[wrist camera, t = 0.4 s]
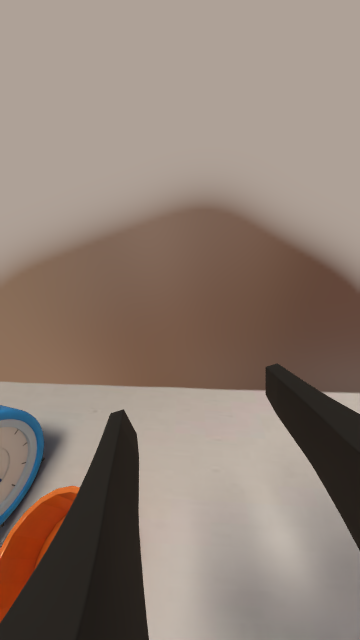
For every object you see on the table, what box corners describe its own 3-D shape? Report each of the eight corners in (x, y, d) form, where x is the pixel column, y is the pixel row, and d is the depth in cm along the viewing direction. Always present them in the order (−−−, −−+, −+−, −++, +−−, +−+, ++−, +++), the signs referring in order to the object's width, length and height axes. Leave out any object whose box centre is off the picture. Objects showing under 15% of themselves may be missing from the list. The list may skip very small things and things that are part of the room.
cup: (141, 606, 19) (116, 614, 15) (21, 689, 17) (-39, 721, 14) (118, 480, 26) (97, 465, 23) (33, 529, 24) (-4, 522, 21)
